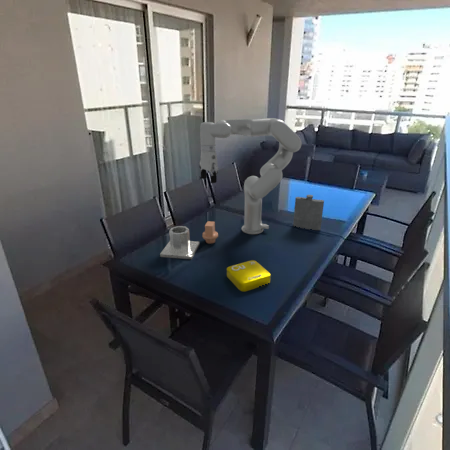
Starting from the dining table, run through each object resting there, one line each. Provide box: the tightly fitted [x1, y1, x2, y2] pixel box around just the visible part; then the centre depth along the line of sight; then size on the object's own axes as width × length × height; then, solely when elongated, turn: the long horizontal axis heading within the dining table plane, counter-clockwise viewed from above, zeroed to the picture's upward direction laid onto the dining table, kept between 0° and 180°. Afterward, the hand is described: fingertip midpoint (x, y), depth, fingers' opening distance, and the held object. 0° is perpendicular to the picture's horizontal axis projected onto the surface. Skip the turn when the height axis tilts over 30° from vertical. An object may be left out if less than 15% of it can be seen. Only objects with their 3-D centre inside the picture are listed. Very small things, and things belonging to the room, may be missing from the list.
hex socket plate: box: [159, 225, 201, 260], centre depth 161 cm, size 16×16×12 cm
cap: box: [201, 220, 219, 245], centre depth 170 cm, size 8×8×10 cm
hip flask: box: [292, 194, 325, 231], centre depth 183 cm, size 16×4×20 cm, turn 65°
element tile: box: [226, 259, 272, 292], centre depth 139 cm, size 15×15×5 cm
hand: (208, 180), depth 169 cm, fingers open, 9 cm apart
